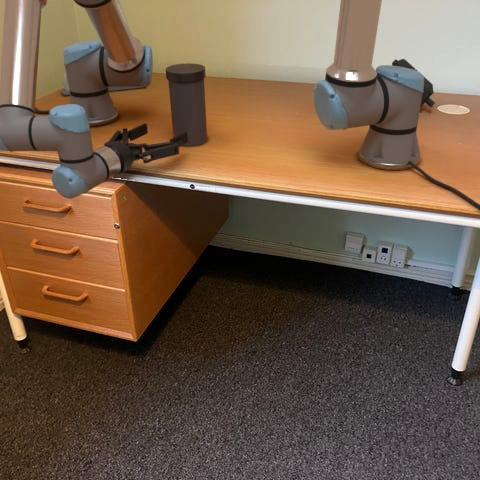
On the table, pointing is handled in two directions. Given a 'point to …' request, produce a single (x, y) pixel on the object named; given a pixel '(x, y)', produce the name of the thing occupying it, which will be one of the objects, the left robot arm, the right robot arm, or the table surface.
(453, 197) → the table surface
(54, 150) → the left robot arm
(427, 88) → the tool
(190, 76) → the lid
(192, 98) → the jar
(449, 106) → the table surface
